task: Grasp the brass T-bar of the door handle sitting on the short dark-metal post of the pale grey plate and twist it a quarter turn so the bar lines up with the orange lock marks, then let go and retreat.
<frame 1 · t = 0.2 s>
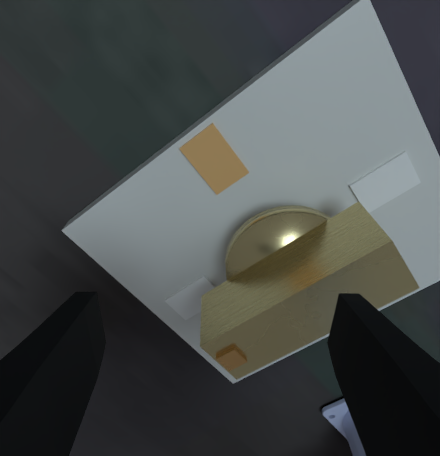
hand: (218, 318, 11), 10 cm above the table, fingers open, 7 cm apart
lock plate: (277, 234, 21), on the table
door handle: (294, 287, 17), point 5 cm above the table, hinge at 0.0°
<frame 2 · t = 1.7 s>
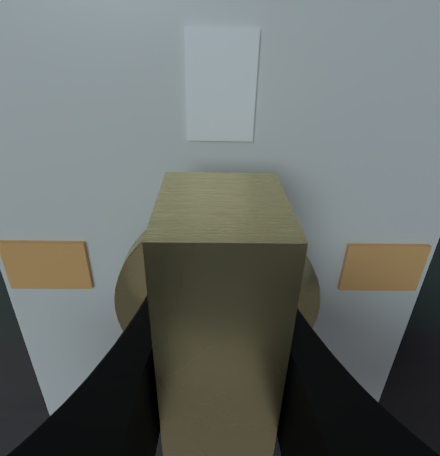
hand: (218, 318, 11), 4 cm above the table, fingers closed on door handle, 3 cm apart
lock plate: (216, 247, 14), on the table
door handle: (218, 342, 10), point 5 cm above the table, hinge at 0.0°, touching gripper
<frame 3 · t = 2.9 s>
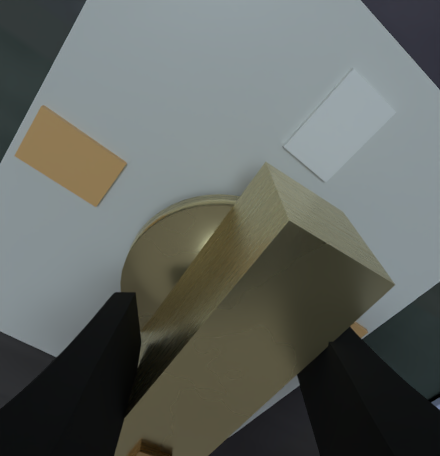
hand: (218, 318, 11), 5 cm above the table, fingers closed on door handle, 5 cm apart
lock plate: (217, 238, 15), on the table
door handle: (219, 324, 11), point 5 cm above the table, hinge at 5.8°, touching gripper
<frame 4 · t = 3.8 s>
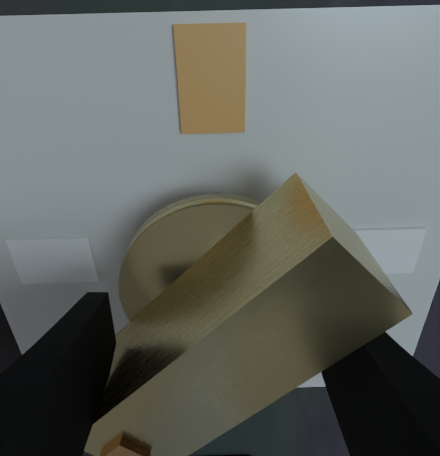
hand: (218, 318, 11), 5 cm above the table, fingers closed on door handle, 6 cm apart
lock plate: (216, 238, 15), on the table
door handle: (218, 325, 10), point 5 cm above the table, hinge at 45.1°, touching gripper
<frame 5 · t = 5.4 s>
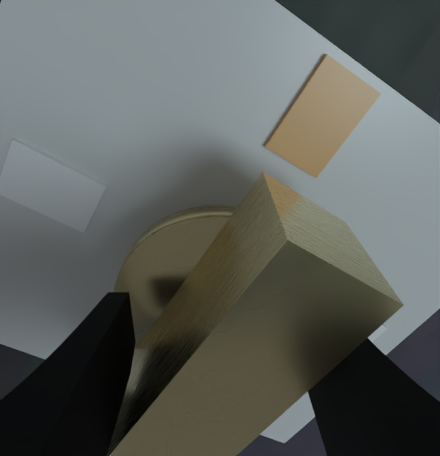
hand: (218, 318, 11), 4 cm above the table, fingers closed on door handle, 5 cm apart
lock plate: (215, 248, 14), on the table
door handle: (216, 342, 10), point 5 cm above the table, hinge at 88.9°, touching gripper
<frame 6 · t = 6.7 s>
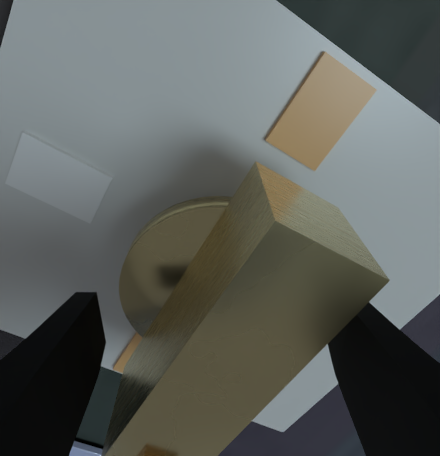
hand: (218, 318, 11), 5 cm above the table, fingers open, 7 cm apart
lock plate: (216, 240, 15), on the table
door handle: (218, 326, 11), point 5 cm above the table, hinge at 91.5°
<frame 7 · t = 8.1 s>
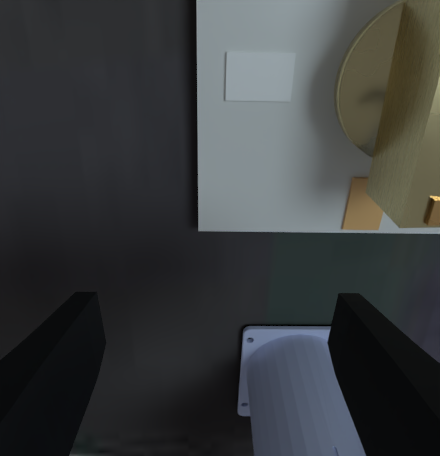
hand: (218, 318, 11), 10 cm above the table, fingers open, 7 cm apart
lock plate: (383, 77, 17), on the table
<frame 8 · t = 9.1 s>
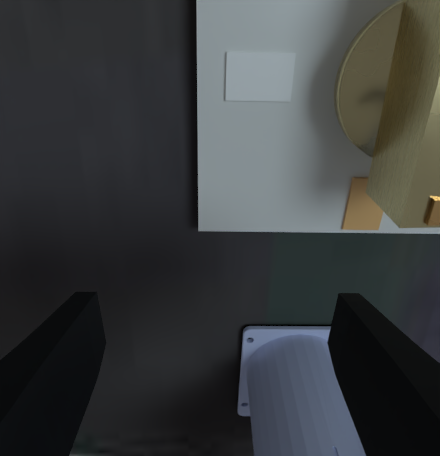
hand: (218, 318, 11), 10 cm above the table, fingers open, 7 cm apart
lock plate: (383, 77, 17), on the table
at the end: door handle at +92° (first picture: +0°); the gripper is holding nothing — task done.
